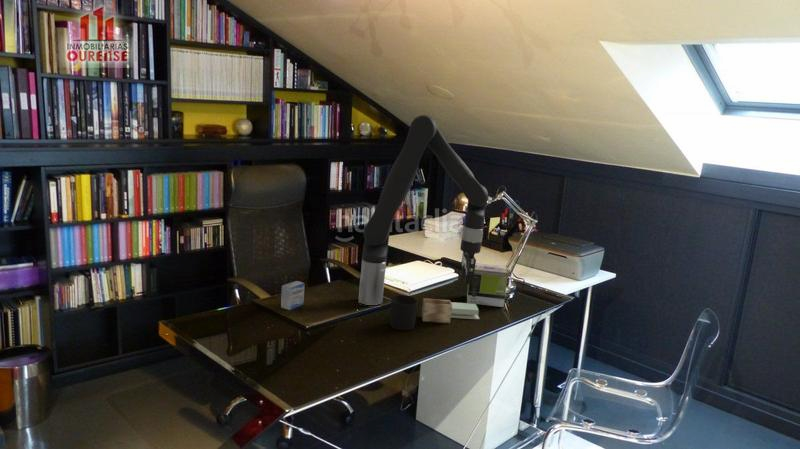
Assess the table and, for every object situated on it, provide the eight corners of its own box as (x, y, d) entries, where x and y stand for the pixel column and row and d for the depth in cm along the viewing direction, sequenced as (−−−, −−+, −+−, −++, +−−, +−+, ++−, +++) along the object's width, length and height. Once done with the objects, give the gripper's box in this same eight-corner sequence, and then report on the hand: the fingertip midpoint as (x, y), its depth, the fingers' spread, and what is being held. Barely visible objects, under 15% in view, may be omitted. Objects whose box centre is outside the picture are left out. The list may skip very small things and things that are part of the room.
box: (422, 321, 220) (424, 303, 218) (421, 316, 225) (423, 298, 223) (449, 323, 221) (452, 305, 219) (448, 317, 226) (450, 300, 224)
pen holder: (419, 325, 216) (422, 299, 214) (408, 333, 208) (411, 306, 206) (395, 318, 220) (398, 293, 218) (384, 327, 212) (386, 300, 209)
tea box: (502, 299, 251) (507, 265, 248) (503, 308, 242) (508, 273, 238) (466, 295, 252) (470, 261, 249) (466, 303, 243) (470, 268, 239)
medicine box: (289, 310, 218) (291, 288, 216) (280, 307, 220) (281, 285, 218) (303, 304, 225) (305, 282, 223) (294, 301, 227) (295, 280, 225)
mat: (447, 317, 226) (447, 316, 226) (445, 309, 234) (445, 308, 234) (479, 319, 227) (479, 318, 227) (475, 311, 235) (475, 310, 235)
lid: (449, 315, 227) (449, 308, 226) (446, 309, 233) (447, 302, 232) (477, 317, 228) (478, 310, 227) (474, 311, 234) (475, 303, 233)
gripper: (458, 233, 230) (453, 273, 234) (465, 243, 216) (458, 285, 220) (478, 234, 231) (472, 275, 235) (485, 245, 217) (479, 287, 221)
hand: (465, 280), depth 227 cm, fingers open, 8 cm apart
